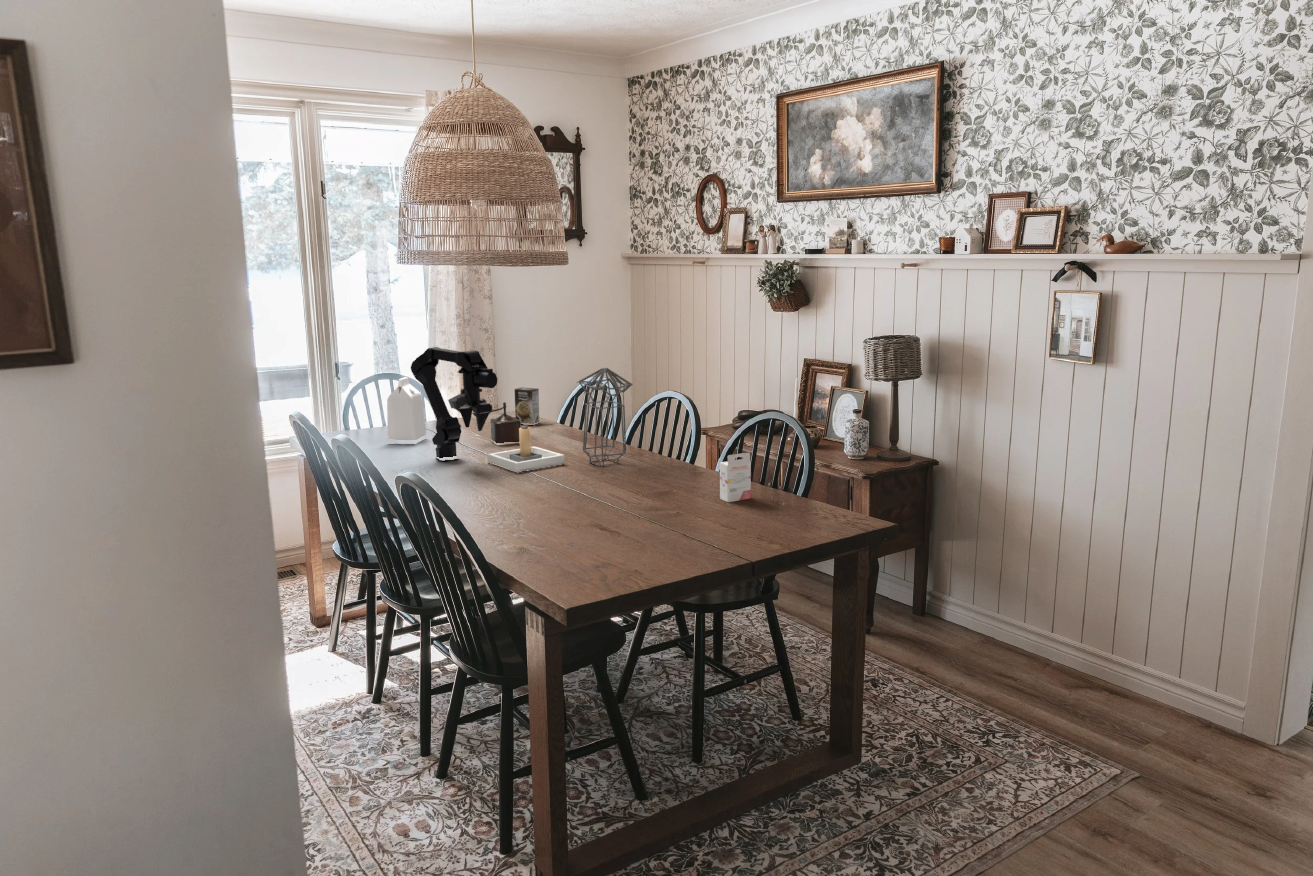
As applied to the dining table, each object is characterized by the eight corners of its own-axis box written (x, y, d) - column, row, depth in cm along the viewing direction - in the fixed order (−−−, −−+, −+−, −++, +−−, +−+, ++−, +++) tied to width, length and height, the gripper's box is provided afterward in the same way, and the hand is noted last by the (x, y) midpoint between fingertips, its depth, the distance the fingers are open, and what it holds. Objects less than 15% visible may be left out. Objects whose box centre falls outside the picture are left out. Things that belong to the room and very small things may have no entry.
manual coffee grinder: (515, 438, 374) (513, 395, 370) (522, 443, 364) (520, 399, 360) (477, 442, 368) (475, 398, 364) (483, 447, 358) (481, 402, 354)
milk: (400, 438, 377) (395, 376, 372) (426, 438, 376) (422, 376, 370) (387, 444, 366) (383, 380, 360) (415, 444, 364) (410, 380, 359)
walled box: (534, 455, 343) (534, 446, 342) (564, 464, 328) (564, 454, 327) (487, 463, 330) (487, 454, 330) (516, 473, 315) (516, 463, 315)
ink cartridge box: (742, 495, 285) (742, 449, 282) (751, 499, 280) (751, 452, 277) (719, 498, 281) (719, 452, 278) (727, 502, 276) (727, 455, 273)
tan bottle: (524, 459, 332) (523, 425, 329) (533, 460, 330) (532, 426, 327) (518, 461, 328) (516, 427, 326) (527, 462, 326) (525, 428, 324)
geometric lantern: (611, 456, 340) (612, 363, 332) (634, 465, 327) (635, 369, 319) (574, 461, 331) (574, 366, 324) (595, 471, 318) (596, 372, 311)
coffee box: (515, 424, 404) (513, 389, 401) (522, 422, 410) (521, 387, 407) (533, 426, 401) (531, 390, 397) (540, 423, 406) (538, 387, 403)
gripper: (438, 385, 326) (441, 428, 329) (463, 391, 312) (466, 436, 315) (466, 382, 333) (468, 424, 336) (492, 388, 319) (494, 431, 322)
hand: (473, 429), depth 327 cm, fingers open, 9 cm apart
